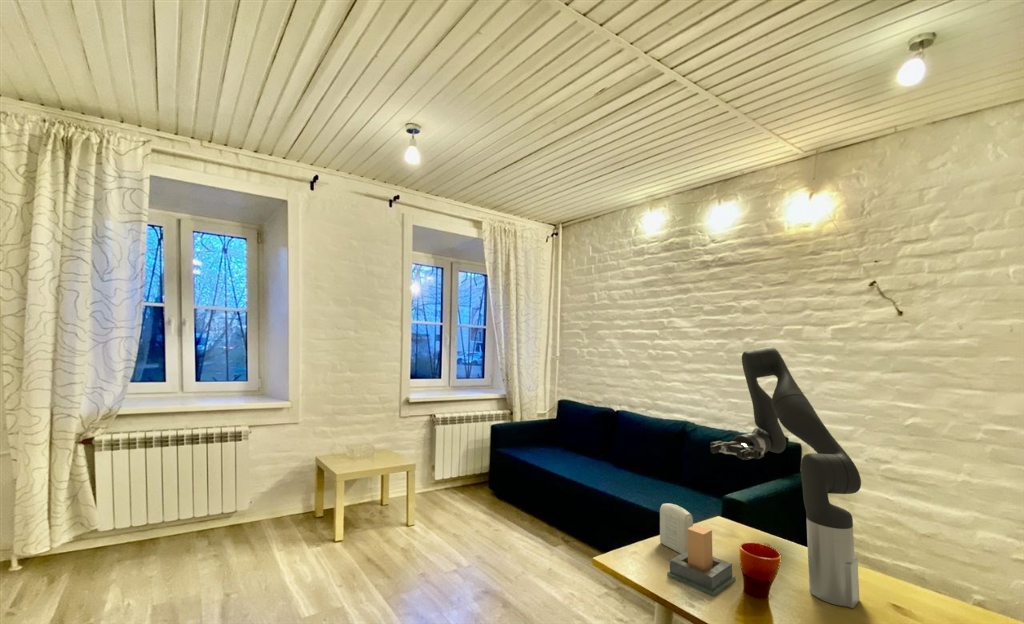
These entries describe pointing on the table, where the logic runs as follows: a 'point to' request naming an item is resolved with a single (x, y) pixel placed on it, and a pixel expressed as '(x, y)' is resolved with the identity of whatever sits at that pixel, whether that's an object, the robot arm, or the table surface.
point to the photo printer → (674, 526)
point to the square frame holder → (702, 574)
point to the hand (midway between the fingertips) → (726, 452)
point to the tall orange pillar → (700, 547)
